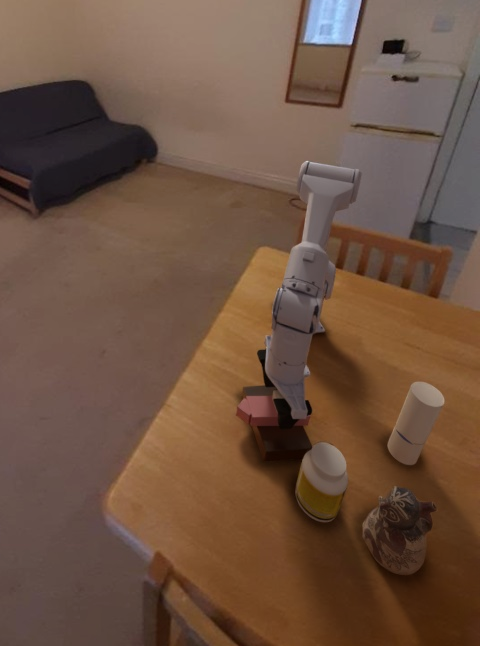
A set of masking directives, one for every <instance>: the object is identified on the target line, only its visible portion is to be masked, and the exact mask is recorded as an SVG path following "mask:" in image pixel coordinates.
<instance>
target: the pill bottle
mask: <svg viewBox="0 0 480 646" xmlns="http://www.w3.org/2000/svg"><path fill="white" fill-rule="evenodd" d="M301 461H302V462H301V464H300V467H299V471H298V475H297V476H298V477H297V478H296V484H295V489H294V493H295V498H296V501H297V503H298V505H299V507H300V509H301V510H302V511H303V512H304V513H305V514H306V515H307V516H308V517H309V518H311V519H313V520H314V521H317V522H320V523H329V522H332V521H333V520H334V519H335V518H337V516H338V514H339V510H340V508H341V505H342V503H343V500H344V497H345V494H346V492H347V488H348V485H349V475H348V472H347V467H348V466H347V461H346V458H345V455H344V454H343V453H342V452H341V451H340V449H339V448H337V447H336V446H334V445H332V444H331V443H328V442H325V441H324V442H323V441H321V442H317V443H315V444H314V445H312V450H309V451H308V452H307V453H306V454H305V455H304V457H303V459H301Z"/></svg>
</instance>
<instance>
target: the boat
mask: <svg viewBox="0 0 480 646" xmlns="http://www.w3.org/2000/svg"><path fill="white" fill-rule="evenodd" d="M274 398H284V397H283V396H282V394H281V393H280V392H279V391H278V390H274V391H273V396H246V399H245V398H244V399H242V400H241V402H240V403H239V404H238V405H237V406H236V415H235V416H237V417H238V418H239V419H240V420H242V421H243V422H244V423H246V424H248V425H249V424H250V427H252V426H279V425H278V412H277V410H276V407H275V404H274V401H273V399H274ZM310 420H311V415H309V416H306V419H300V420H299V421H297V422H296V424H295V425H294V426H303V427H306V426H307V427H309V424H310Z"/></svg>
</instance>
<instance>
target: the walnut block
mask: <svg viewBox="0 0 480 646" xmlns="http://www.w3.org/2000/svg"><path fill="white" fill-rule="evenodd" d="M274 390H278V389H277V388H276V387H266V386H265V384H263V385H251V386H250V385H249V386H242V393H241V399H242V400H243V399H244V398H245V399H246V396H273V391H274ZM251 428H252V431H253V434H254V436H255V441H256V443H257V446H258V448H259V452H260V454H261V457H262V461H263V463H267V462H268V463H269V462H281V461H295V460H303V457H304V455H305V454H306V453H307V452H308V451H309V450H312V447H313V445H312V443H311V441H310V438H309V436H308V433H307V432H306V430H305V426H293V427H292V428H291V429H280V428H279V426H251Z"/></svg>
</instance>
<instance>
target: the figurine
mask: <svg viewBox="0 0 480 646" xmlns="http://www.w3.org/2000/svg"><path fill="white" fill-rule="evenodd" d="M378 503H379V504H378V505H377V506H376V507H375V508H373V509H372V510H370V512H368V513H367V516H366V518H365V519H364V521H363V522H362V539H363V541H364V543H365V545H366V547H367V549H368V550H369V552H370V554H371V556H372V557H373V559H374V560H375V562H377V563H378V565H380V566H381V567H383V568H384V569H385V570H387V571H388V572H391V573H393V574H396V575H400V576H410V575H413V574H414V573H416V572H417V571H419V570H420V569H421V567H422V566H423V564H424V563H425V562H424V561H425V559H426V553H427V534H428V533H429V532H431V531H432V529H433V527H434V522H433V521H434V520H433V516H432V513H436V512H438V508H437V505H436V504H435V503H434V501H421V500H418V499H417V497H416V495H415V494H414V492H413V491H412V490H410V489H408V488H405V487H401V486H400V487H399V486H395V485H394V486H392V489H391V490H390V492H389V493H388V494H387V495H386V496H385V497H383V496H381V495H379V496H378Z"/></svg>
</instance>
